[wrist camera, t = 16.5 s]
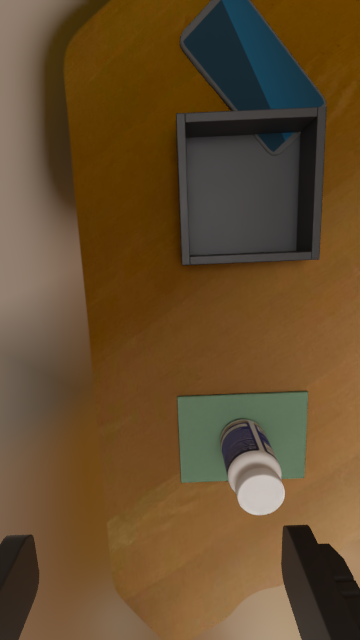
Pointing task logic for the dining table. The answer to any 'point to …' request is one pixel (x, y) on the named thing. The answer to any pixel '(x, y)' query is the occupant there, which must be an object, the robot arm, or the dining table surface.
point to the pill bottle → (252, 467)
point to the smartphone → (248, 64)
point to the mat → (220, 410)
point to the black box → (250, 186)
